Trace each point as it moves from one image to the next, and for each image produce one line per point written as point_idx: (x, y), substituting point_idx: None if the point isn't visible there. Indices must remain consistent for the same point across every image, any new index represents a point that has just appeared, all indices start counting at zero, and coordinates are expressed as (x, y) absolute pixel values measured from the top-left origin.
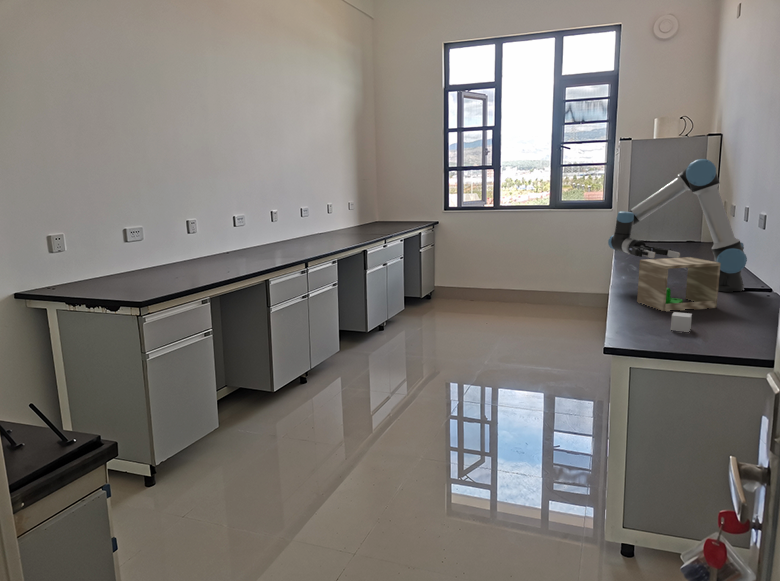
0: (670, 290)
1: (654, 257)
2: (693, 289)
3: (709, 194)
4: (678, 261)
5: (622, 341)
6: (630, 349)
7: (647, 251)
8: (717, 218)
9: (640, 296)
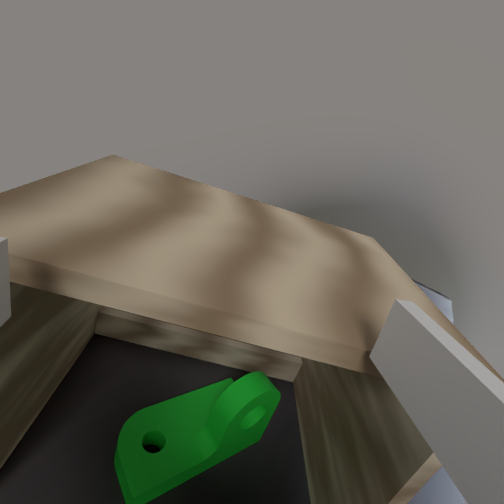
0: (223, 393)
1: (373, 347)
2: (17, 394)
3: None
4: (257, 235)
5: (435, 303)
6: (426, 287)
7: (498, 392)
8: None
9: None
